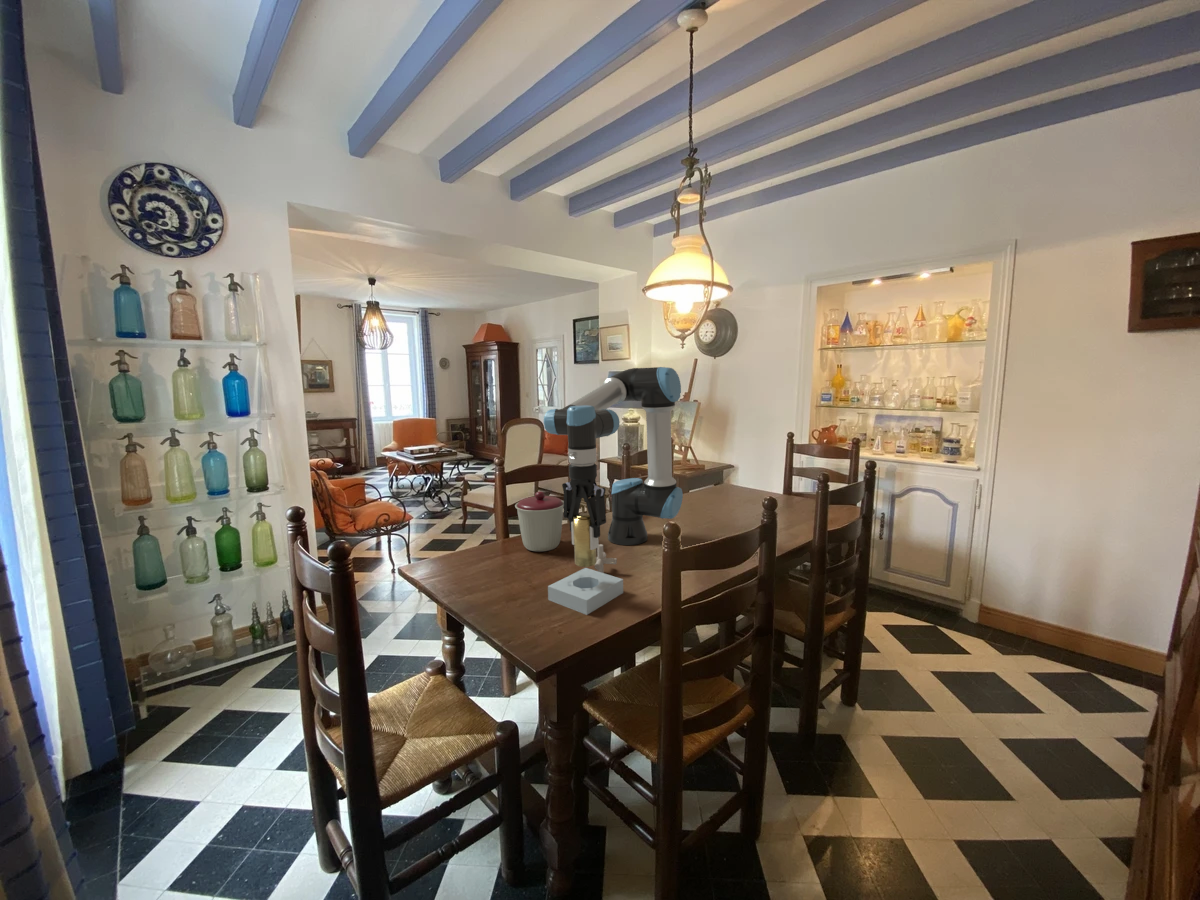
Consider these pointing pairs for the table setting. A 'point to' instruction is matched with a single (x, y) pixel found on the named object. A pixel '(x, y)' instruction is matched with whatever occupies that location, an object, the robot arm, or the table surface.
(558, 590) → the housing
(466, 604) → the table surface
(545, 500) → the canister
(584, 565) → the gold metal cylinder
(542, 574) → the table surface
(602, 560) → the pipe connector
